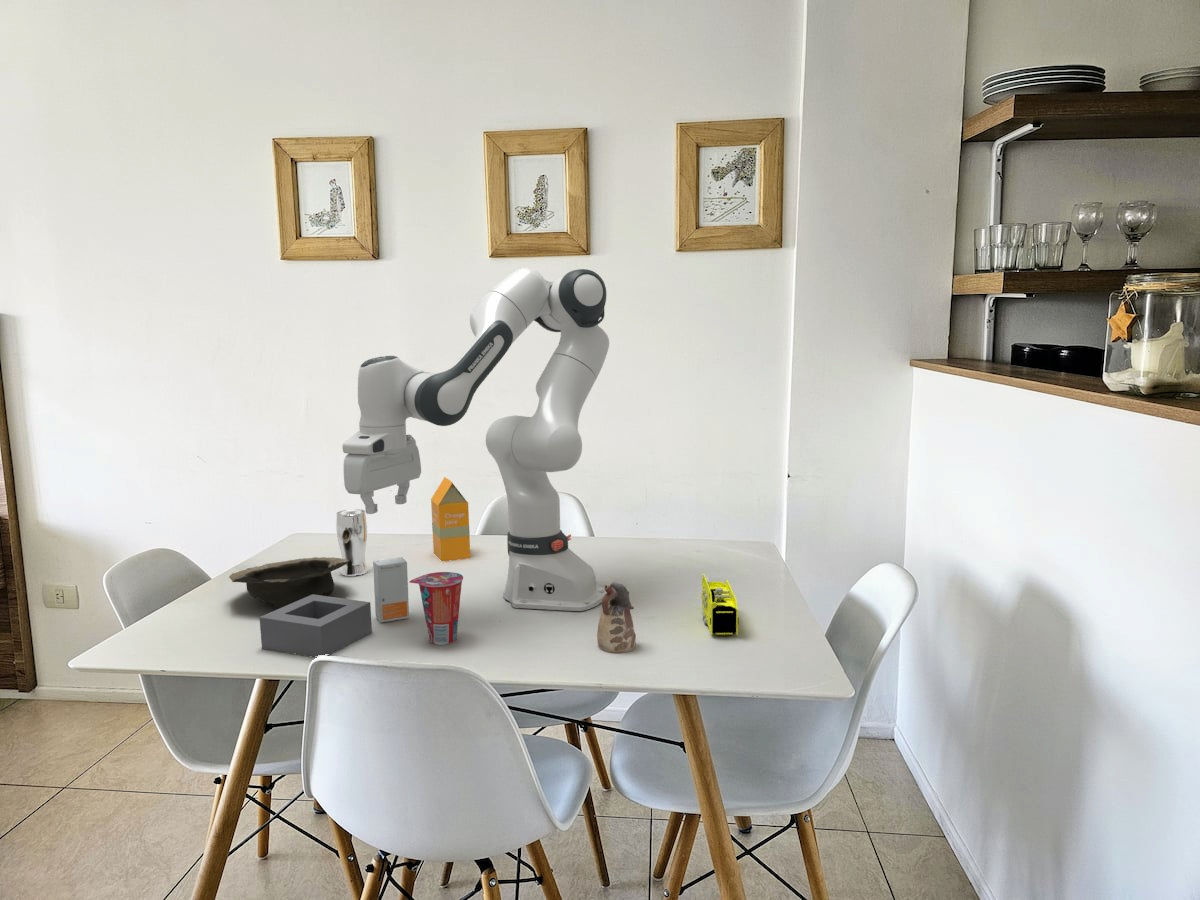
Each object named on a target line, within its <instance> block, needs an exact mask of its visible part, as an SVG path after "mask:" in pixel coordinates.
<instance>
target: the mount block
mask: <svg viewBox="0 0 1200 900" xmlns="http://www.w3.org/2000/svg"><path fill="white" fill-rule="evenodd" d="M371 609H372V608H371V601H365V600H364V601H363V600H356V599H349V598H342V597H335V596H328V595H325V596H321V595H314V594H312V595H310V596H308V597H305V598H303V599H301V600H298V601H296V602H294V603H291V604H289V605H287V606H284V607H282V608H280V609H277V610H275V609H274V610H273V611H271V612H268V613H266V614H263V615H261V616H260V617H259V627H260V628H259V629H260V642H261V649H264V650H268V649H270V651H274V650H277V651H276V652H280V651H282V652H281V653H286V652H289V653H288V654H291V653H296V654H295V655H297V654H300V655H299V656H303V655H306V656H305V657H309V656H312V657H311V658H315V656H318V655H325V654H330V655H332V654H334V653H336V652H338V651H339V650H341V649H344V648H345V647H347V646H348V645H351V644H352V643H354V642H357V641H358V640H360V639H362V638H364V637H366V636H368V635H369V634H371V633H372V631H373V627H372V612H371V611H372V610H371ZM337 650H338V651H337ZM333 652H334V653H333Z"/></svg>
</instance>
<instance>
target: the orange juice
mask: <svg viewBox="0 0 1200 900" xmlns="http://www.w3.org/2000/svg"><path fill="white" fill-rule="evenodd" d="M430 501H431V527H432V530H431V532H432V543H433V544H432V545H433V547H432V548H433V549H432V550H433V554H435V555H436V556H437V557H438V558H439V559H440V560H441V561H445V562H450V561H449V560H452V561H459V560H458V559H460V560H465V559H466V558H468V559H471V545H470V544H471V542H470V540H471V538H470V535H471V534H470V517H469V515H470V514H469V511H470V510H469V502H468V501H467V500H466V498H465V497H464V496H463V494H462V493H461V492H460V491H459V489H458V488H457V487H456V486H455V484H454V483H453V481H451V480H450V479H448V478H447V477H445V476H444V477H443V479H442V480H441V482H440V484H439V485H438V487H437V489H436V490H435V492H434V493H433V495H432V496H431V499H430ZM435 555H434V556H435ZM436 556H435V557H436ZM437 557H436V558H437ZM438 558H437V559H438ZM439 559H438V560H439ZM440 560H439V561H440ZM441 561H440V562H441Z"/></svg>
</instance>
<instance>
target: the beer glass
mask: <svg viewBox="0 0 1200 900" xmlns="http://www.w3.org/2000/svg"><path fill="white" fill-rule="evenodd" d="M367 524H368V523H367V517H366V510H364V509H362V508H361V509H358V508H355V509H354V508H353V509H352V508H351V509H344V510H339V511H337V512H336V537H337V542H338V546H339V550H340V553H341V559H347V561H348V560H350V561H349V562H348V563H347V564H346V565H344V566H342V567H341V572H340V573H341V575H342V576H343V575H345V576H344V577H348V576H352V577H357V576H356V575H360V576H363V575H362V574H364V575H366V574H367V573H368V568H367V567H368V566H367V563H366V548H367V540H368V525H367ZM365 573H366V574H365Z"/></svg>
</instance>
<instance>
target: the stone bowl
mask: <svg viewBox="0 0 1200 900" xmlns="http://www.w3.org/2000/svg"><path fill="white" fill-rule="evenodd" d="M349 561H350V560H348V561H347V559H342V557H334V556H333V557H325V556H324V557H323V556H322V557H321V556H320V557H316V556H315V557H309V558H308V557H307V558H296V559H290V560H285V561H284V560H283V561H278V562H270V563H266V564H262V565H259V566H256V565H255V566H252V567H248V568H246V569H242V570H240V571H237V572H234V573H233V572H232V573H231V574H230V575H229V577H228V578H229V579H230V580H231V583H244V584H245V585H246V591H247V593H248V594H249V595H250V596H251V597H253V598H255V599H256V598H257V599H258V600H259V601H261V602H264V603H265V602H266V603H271V604H272V605H273V609H274V611H275V610H277V609H280V608H282V607H284V606H287V605H289V604H291V603H294V602H296V601H298V600H301V599H303V598H305V597H308V596H310V595H312V594H314V595H321V596H324V595H325V596H328V595H331V594H332V593H333V592H334V587H335V582H334V578H333V575H332V572H333V571H335V570H338V569H340V568H342V566H344V565H346V564H347V563H348V562H349Z"/></svg>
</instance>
